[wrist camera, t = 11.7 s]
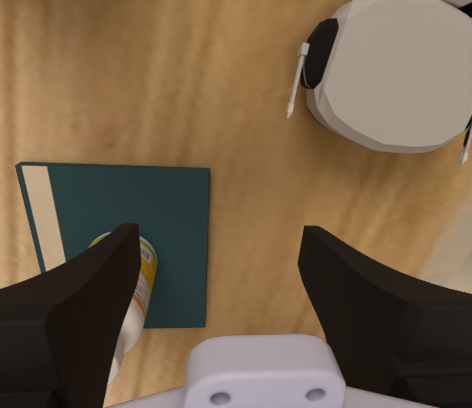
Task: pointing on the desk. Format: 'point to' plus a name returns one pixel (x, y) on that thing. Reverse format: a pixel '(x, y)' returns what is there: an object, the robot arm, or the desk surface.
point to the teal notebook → (127, 211)
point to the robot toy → (392, 74)
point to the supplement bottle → (135, 306)
